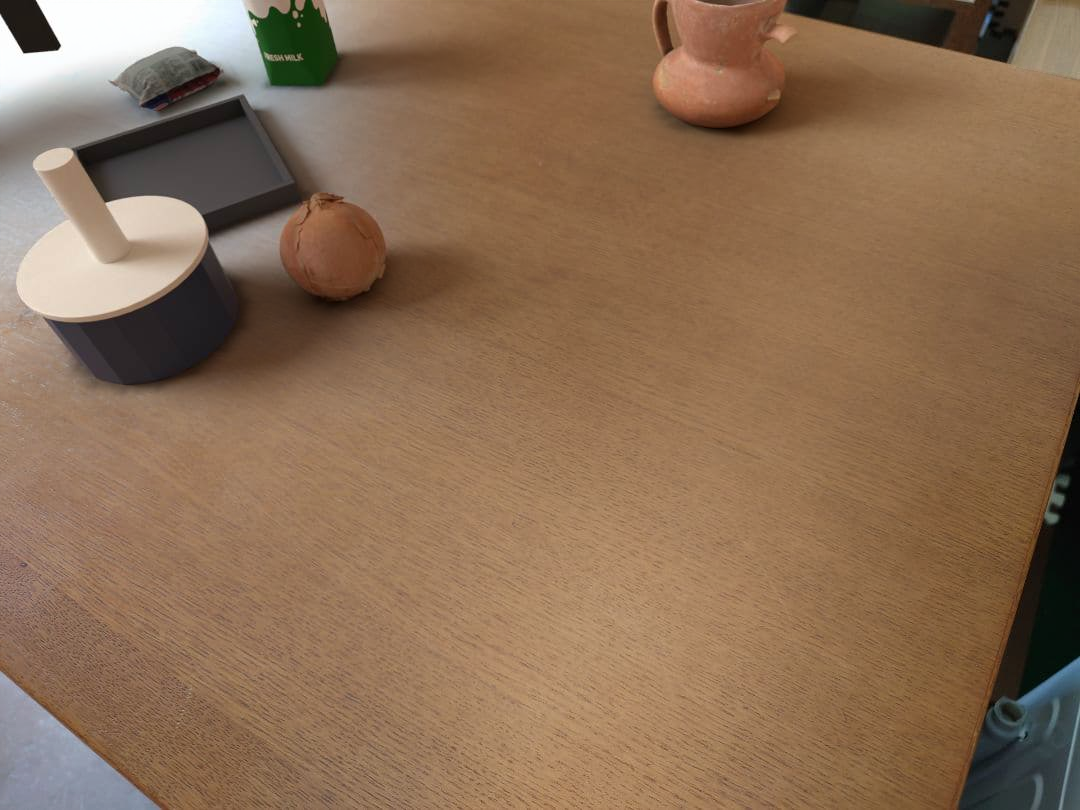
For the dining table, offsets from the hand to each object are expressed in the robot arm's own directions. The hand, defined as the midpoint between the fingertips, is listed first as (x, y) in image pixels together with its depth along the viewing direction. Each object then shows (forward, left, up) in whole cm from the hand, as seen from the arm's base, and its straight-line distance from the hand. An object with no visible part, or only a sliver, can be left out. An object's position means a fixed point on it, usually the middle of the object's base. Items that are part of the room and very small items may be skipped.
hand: (9, 97), depth 56 cm
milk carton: (-37, +26, -23) cm, 51 cm away
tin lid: (+1, 0, -14) cm, 14 cm away
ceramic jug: (-1, +64, -23) cm, 68 cm away
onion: (+5, +17, -23) cm, 29 cm away
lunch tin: (+1, 0, -23) cm, 23 cm away
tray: (-21, +7, -23) cm, 32 cm away
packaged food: (-43, +10, -23) cm, 49 cm away
